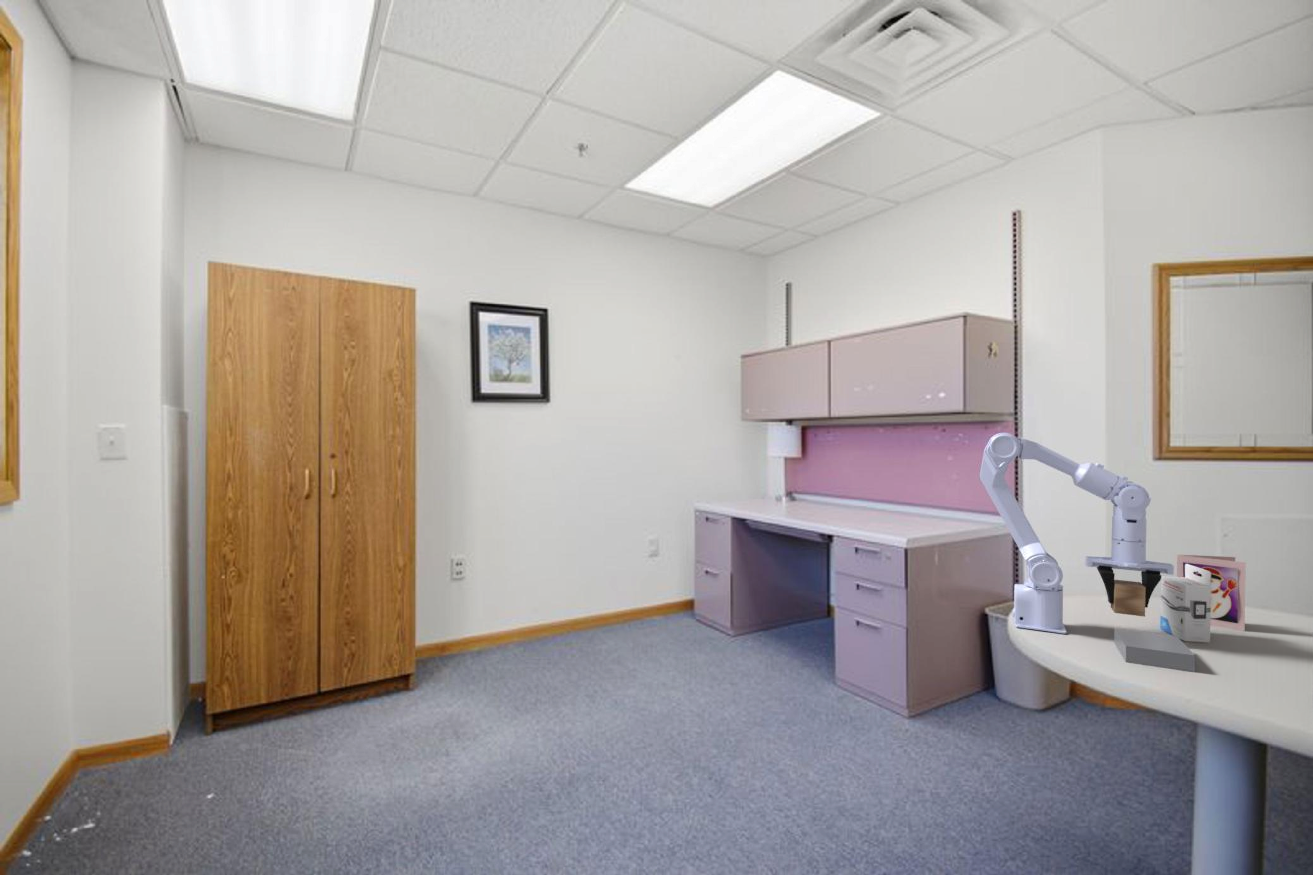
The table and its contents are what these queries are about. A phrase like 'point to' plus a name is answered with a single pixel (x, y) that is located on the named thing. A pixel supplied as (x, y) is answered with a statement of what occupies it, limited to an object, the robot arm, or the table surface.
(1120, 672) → the table surface
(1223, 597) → the greeting card
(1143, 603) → the walnut block
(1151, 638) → the gray rectangular slab
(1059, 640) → the table surface
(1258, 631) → the table surface
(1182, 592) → the ink box
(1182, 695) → the table surface
